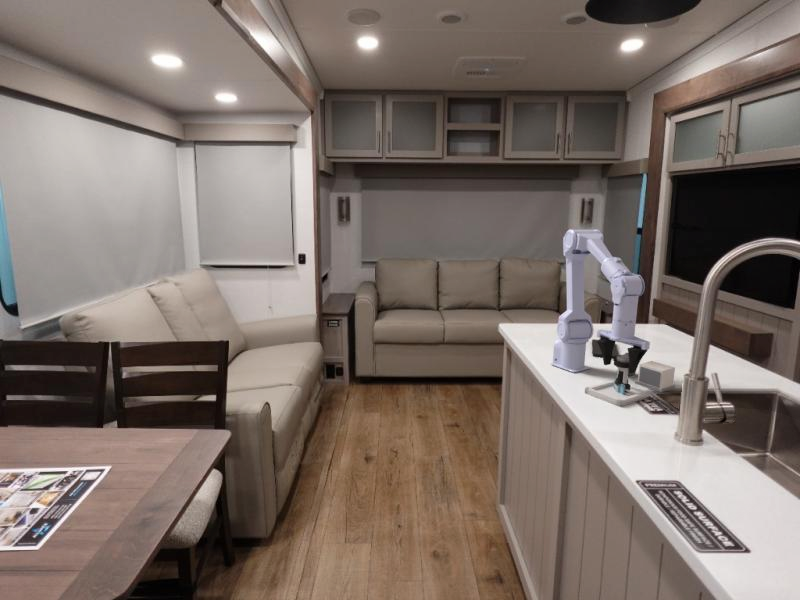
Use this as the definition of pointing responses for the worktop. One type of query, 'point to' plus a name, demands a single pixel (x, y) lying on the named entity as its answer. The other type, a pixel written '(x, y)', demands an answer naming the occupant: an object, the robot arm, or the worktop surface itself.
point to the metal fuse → (628, 371)
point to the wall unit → (656, 376)
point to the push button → (622, 374)
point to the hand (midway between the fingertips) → (619, 368)
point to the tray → (616, 393)
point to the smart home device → (597, 351)
